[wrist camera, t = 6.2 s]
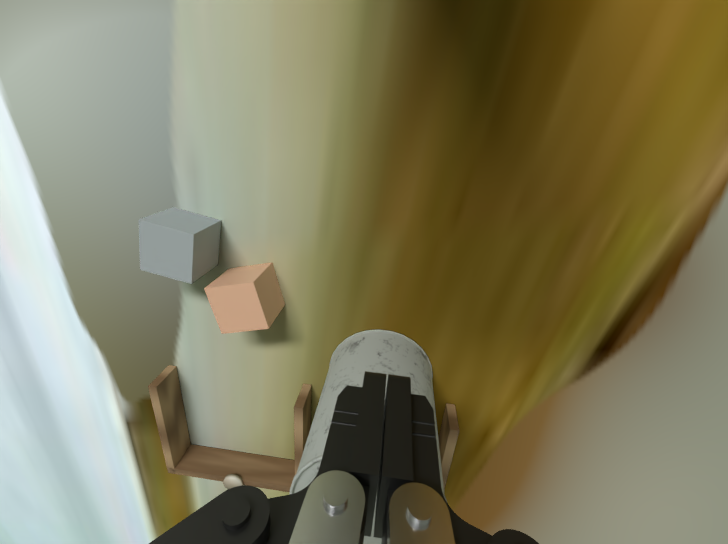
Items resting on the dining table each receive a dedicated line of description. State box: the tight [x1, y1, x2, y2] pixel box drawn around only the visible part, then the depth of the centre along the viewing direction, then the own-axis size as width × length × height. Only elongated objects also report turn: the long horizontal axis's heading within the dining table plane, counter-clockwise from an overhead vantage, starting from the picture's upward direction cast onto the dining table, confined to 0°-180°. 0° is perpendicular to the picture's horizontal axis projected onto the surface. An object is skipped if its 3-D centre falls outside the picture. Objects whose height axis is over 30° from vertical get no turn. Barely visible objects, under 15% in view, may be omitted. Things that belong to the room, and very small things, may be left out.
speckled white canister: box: [290, 329, 447, 544], centre depth 26 cm, size 10×10×12 cm
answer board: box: [148, 365, 459, 492], centre depth 34 cm, size 12×28×3 cm, turn 86°
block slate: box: [139, 207, 221, 284], centre depth 26 cm, size 4×4×4 cm
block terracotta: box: [204, 263, 285, 334], centre depth 28 cm, size 4×4×4 cm
